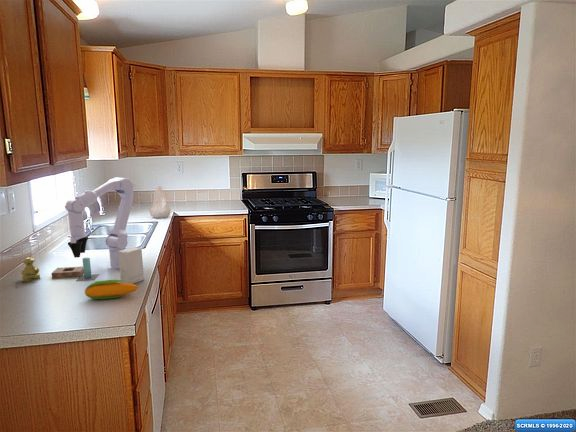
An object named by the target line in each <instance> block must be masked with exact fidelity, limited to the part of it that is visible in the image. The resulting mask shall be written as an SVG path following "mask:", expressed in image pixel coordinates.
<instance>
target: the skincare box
mask: <svg viewBox="0 0 576 432" xmlns="http://www.w3.org/2000/svg"><path fill="white" fill-rule="evenodd" d="M142 250H143V249H142V248H140V247H136V246H132V247H128V248H126V249H124V250H121V251H118V254H119V265H120V268H119V274H120V280H123V281H122V282H121V283H132V284H136V283H139V282H142V281H144V280H145V278H144V277H145V274H144V265H143V264H144V263H143V262H144V261H143V251H142Z"/></svg>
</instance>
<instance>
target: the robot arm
mask: <svg viewBox="0 0 576 432" xmlns="http://www.w3.org/2000/svg"><path fill="white" fill-rule="evenodd" d="M134 186H135V184H134V182H133V180H131V179H130V178H129V177H118V176H115V177H113V178H110V179H109V180H107V182H105V183H103V184H102V185H100V186H98V187H97V188H95V189H94V190H90V189H89V190H84V191H83V193H81V194H80V195H76V196H75V198H70V199H68V200H67V202H65V205H64V208H65V210H66V211H67V214H68V221H69V231H70V232H69V233H70V234H69V235H67V237H68V238H70V241H69V242H67V245H68V247H69V248H70V249H71V252H72V256H73V257H74V259H75V258H80V257H81V254H85V253H86V247H87V242H88V239H89V236H86V231H85V224H84V223H85V222H84V213H83V212H84V211H85V209H86V208H87V207H88V206H89V205H92V204H93V203H96V201H97V200H98V197H100V196H102V195H104V194H106V193H109V192H110V191H113V190H114V191H115V192H116V193H117V194H118V195H119V196H120V203H119V205H118V210H117V214H116V216H115V221H114V225H113V229H111V230H110V231H108V232H109V233H108V235H107V236H106V239H105V245H106V246H107V247H108V251H109V263H110V265H109V266H108V268H107V269H108V270H109V269H120V265H119V254H118V251H121V250H124V249H127V246H128V243H129V242H128V236H129V235H128V234H127V232H126V229H127V225H128V221H129V218H130V217H129V216H130V213H131V209H132V205H133V201H134V198H135V197H134V196H135V195H134Z"/></svg>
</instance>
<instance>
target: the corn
mask: <svg viewBox="0 0 576 432" xmlns="http://www.w3.org/2000/svg"><path fill="white" fill-rule="evenodd" d="M122 281H123V280H121V279H106V280H105V279H104V280H98V281H94V282H92V283H91V284H89V285H87V286H86V288H85V289H84V295H85V296H86V297H88V298H90V299H92V300H109V299H112V300H113V299H119V298H121V296H125V295H129V294H132V293H134V292H136V291H137V290H138V288H139V286H138V285H137V284H135V283H133V284H132V283H123V282H122Z"/></svg>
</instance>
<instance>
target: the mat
mask: <svg viewBox="0 0 576 432" xmlns="http://www.w3.org/2000/svg"><path fill="white" fill-rule="evenodd" d="M99 276H100V273H94V274H93V273H91V278H88V279H85V278H84V274H83V275H82V276H81V277H77V279H76V280H75V282H87V281H88V282H89V281H91V282H92V281H95V280H96V279H97V278H98V277H99Z"/></svg>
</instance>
